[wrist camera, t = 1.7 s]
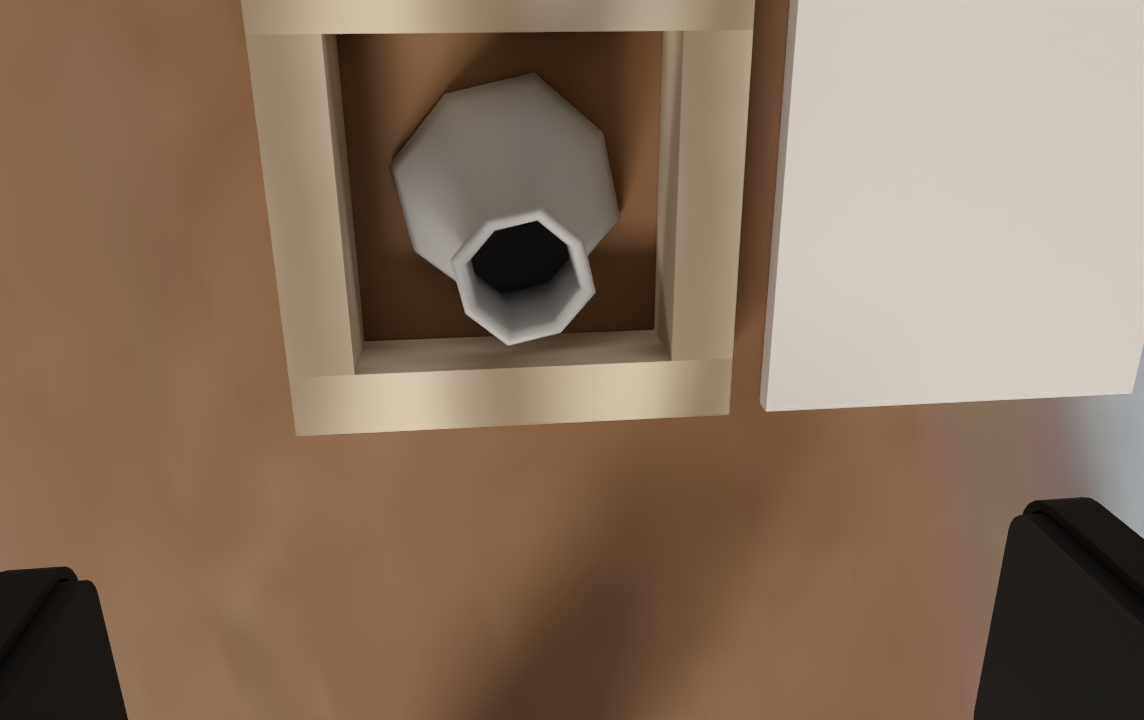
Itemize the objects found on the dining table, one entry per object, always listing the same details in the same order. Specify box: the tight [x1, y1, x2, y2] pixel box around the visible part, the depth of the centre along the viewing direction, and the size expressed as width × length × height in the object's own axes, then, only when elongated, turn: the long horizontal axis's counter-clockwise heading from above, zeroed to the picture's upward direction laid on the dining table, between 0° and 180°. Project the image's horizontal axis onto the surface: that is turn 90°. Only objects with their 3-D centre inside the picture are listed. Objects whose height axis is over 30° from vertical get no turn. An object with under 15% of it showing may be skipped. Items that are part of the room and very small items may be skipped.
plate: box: [760, 0, 1144, 412], centre depth 32 cm, size 14×14×1 cm
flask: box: [389, 72, 620, 346], centre depth 26 cm, size 7×7×10 cm
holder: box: [241, 0, 755, 436], centre depth 29 cm, size 14×14×3 cm
